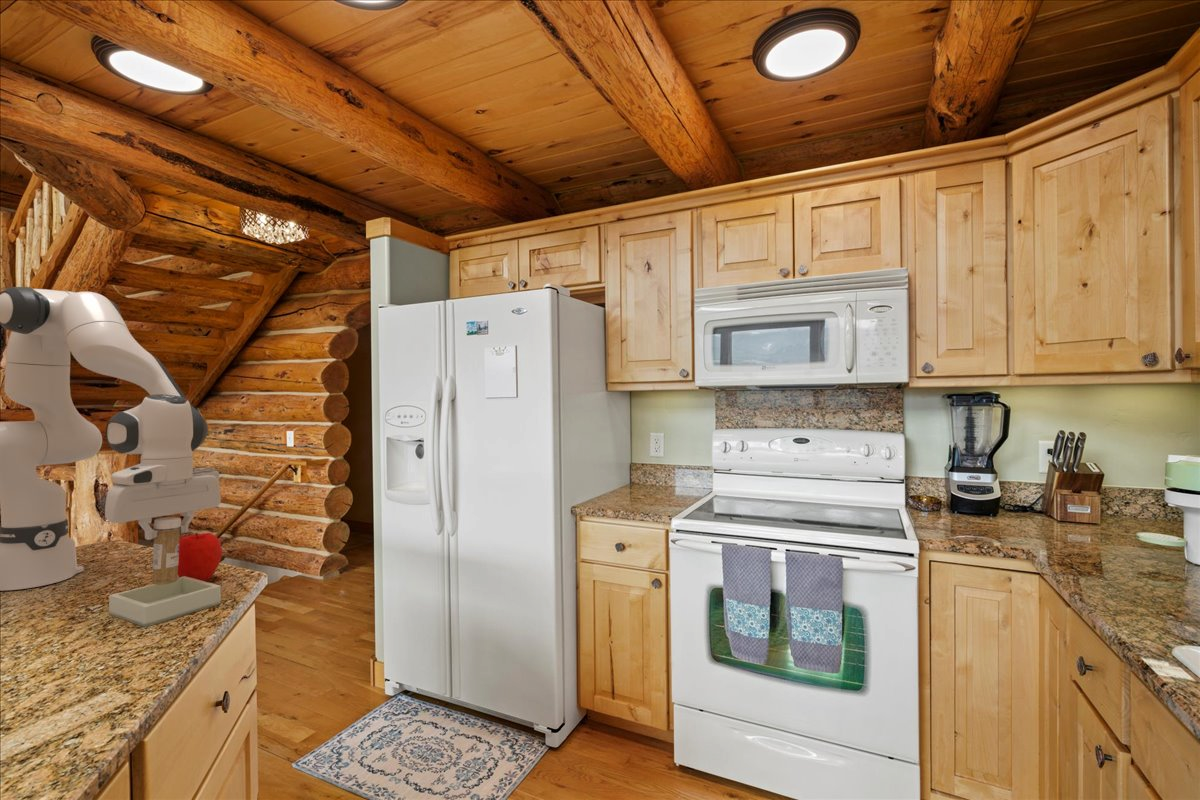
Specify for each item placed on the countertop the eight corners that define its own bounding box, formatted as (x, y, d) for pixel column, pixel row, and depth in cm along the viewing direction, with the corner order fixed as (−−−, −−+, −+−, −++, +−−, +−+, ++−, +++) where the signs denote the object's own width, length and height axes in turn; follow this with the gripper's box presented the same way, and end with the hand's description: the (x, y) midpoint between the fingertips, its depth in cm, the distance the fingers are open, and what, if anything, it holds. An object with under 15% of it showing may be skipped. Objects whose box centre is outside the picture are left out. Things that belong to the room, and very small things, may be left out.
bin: (109, 614, 115) (109, 595, 115) (184, 593, 128) (184, 576, 128) (145, 627, 109) (145, 607, 109) (220, 604, 121) (220, 585, 121)
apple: (204, 573, 142) (204, 526, 142) (231, 578, 139) (232, 529, 139) (162, 585, 133) (162, 534, 133) (190, 591, 129) (190, 538, 129)
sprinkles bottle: (178, 583, 117) (181, 518, 118) (150, 586, 114) (154, 521, 115) (177, 577, 121) (180, 515, 121) (150, 581, 118) (153, 517, 118)
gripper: (210, 465, 129) (210, 524, 129) (100, 475, 111) (100, 545, 111) (227, 466, 126) (226, 527, 126) (117, 477, 108) (116, 549, 108)
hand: (167, 535), depth 118 cm, fingers closed on sprinkles bottle, 4 cm apart
